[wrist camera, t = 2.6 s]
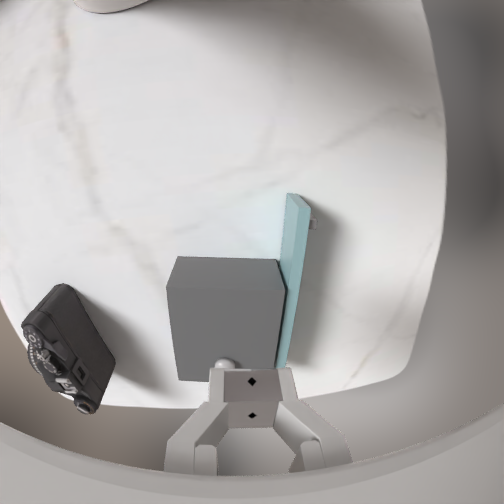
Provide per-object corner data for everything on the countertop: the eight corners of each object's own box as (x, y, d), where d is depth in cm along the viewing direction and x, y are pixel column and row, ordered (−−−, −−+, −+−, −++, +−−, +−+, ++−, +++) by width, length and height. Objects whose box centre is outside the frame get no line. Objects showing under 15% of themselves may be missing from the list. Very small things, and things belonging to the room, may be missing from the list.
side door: (286, 193, 26) (298, 207, 22) (305, 194, 26) (320, 208, 22) (267, 356, 35) (272, 386, 30) (281, 356, 35) (287, 385, 30)
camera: (22, 294, 29) (-16, 337, 20) (73, 278, 29) (32, 329, 20) (71, 369, 35) (49, 416, 26) (124, 364, 35) (106, 420, 26)
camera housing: (177, 256, 29) (164, 291, 22) (276, 259, 30) (287, 295, 23) (185, 352, 34) (179, 393, 28) (264, 354, 35) (270, 395, 29)
